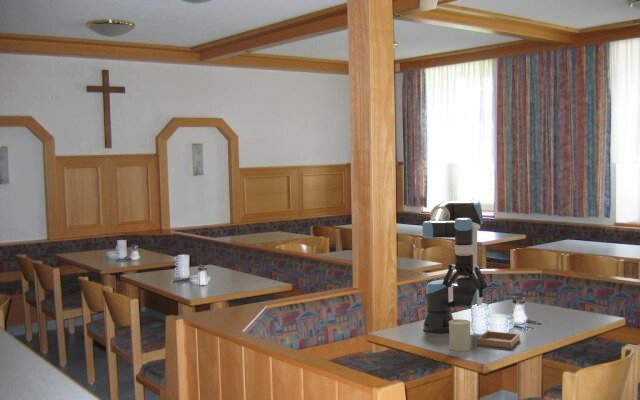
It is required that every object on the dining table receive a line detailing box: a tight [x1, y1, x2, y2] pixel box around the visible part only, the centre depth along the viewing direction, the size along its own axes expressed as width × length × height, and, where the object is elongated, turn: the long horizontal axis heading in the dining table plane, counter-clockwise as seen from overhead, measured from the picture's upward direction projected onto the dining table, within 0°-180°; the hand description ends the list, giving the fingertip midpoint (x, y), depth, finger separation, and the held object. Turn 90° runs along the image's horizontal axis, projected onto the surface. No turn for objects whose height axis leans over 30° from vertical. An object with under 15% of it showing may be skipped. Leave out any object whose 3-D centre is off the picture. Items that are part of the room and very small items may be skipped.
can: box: [448, 318, 472, 352], centre depth 300 cm, size 9×9×12 cm
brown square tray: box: [476, 330, 521, 350], centre depth 306 cm, size 15×15×3 cm
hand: (464, 303), depth 300 cm, fingers open, 13 cm apart
